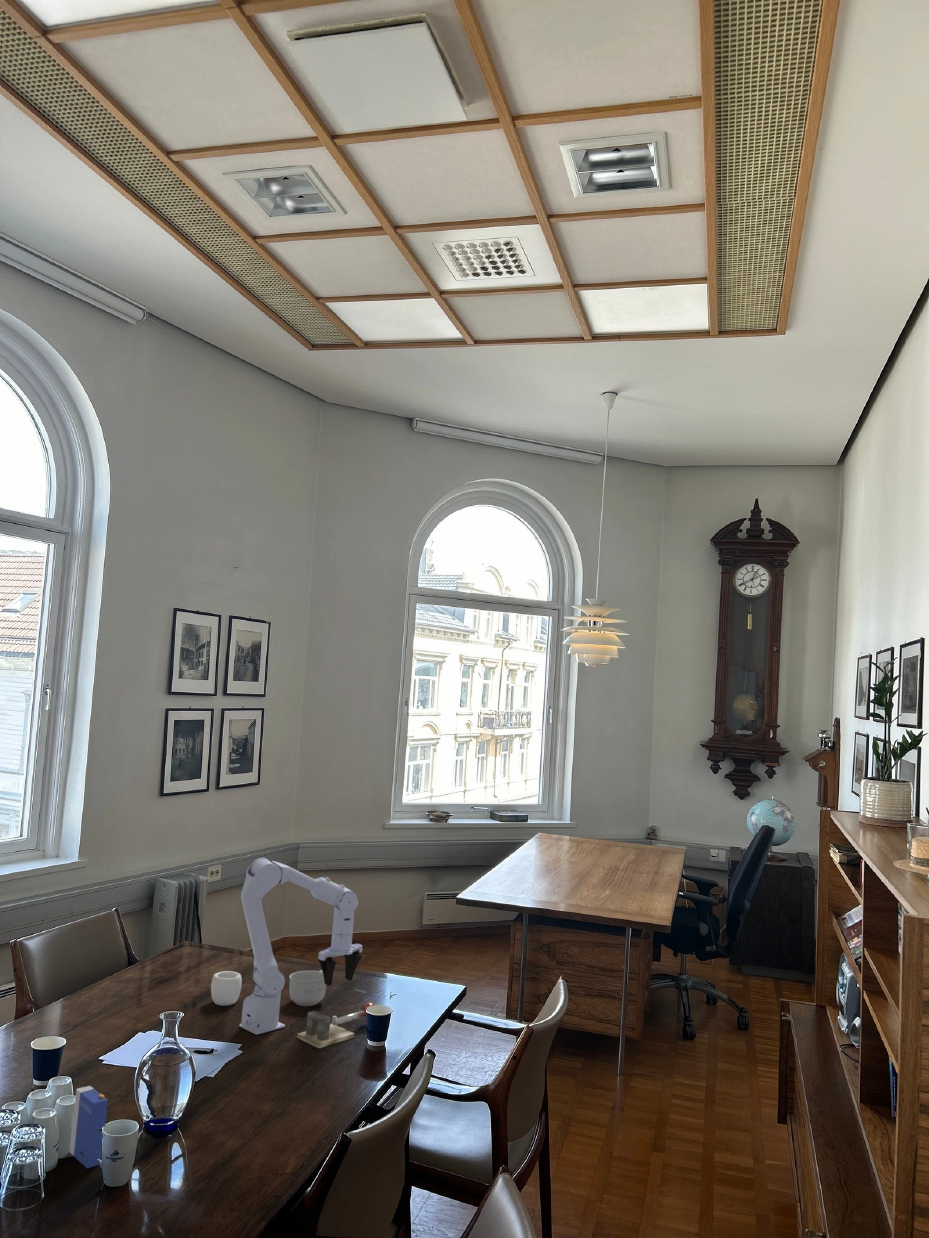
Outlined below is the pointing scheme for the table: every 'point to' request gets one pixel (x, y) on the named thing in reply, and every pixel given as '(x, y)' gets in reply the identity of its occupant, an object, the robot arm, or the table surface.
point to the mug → (226, 987)
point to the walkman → (88, 1126)
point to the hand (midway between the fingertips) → (338, 982)
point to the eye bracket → (323, 1031)
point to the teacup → (307, 987)
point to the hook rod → (352, 1015)
